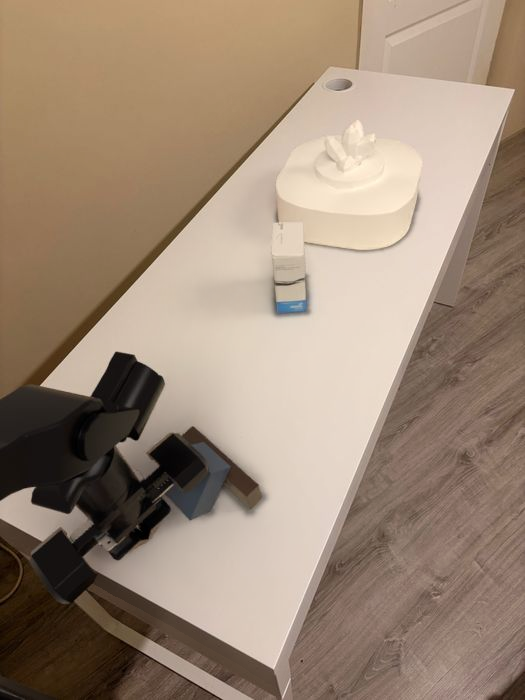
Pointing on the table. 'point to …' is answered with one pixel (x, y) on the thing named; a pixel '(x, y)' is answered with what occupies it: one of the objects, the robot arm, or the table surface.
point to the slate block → (201, 486)
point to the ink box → (289, 266)
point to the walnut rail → (230, 472)
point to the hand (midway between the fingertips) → (146, 537)
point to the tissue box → (350, 189)
